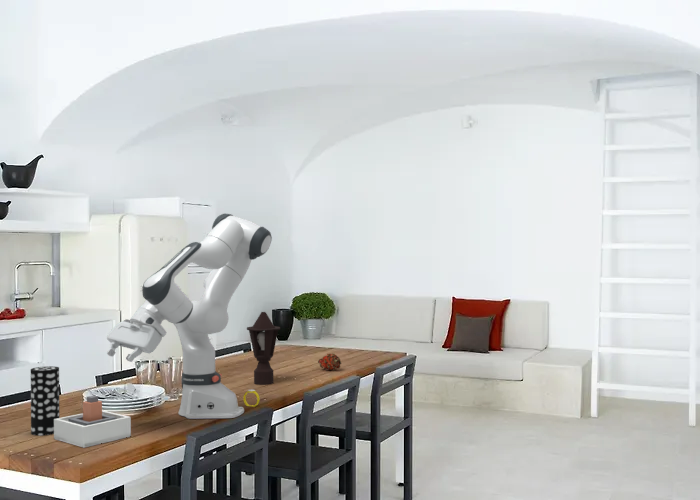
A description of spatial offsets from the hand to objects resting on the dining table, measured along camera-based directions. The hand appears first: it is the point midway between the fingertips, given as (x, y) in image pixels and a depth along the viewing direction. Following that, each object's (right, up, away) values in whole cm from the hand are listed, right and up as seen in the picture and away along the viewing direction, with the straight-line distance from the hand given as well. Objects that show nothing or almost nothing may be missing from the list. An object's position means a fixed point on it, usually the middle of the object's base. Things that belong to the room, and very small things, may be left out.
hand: (118, 357), depth 239 cm
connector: (-5, -22, -8) cm, 24 cm away
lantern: (+37, -22, +80) cm, 91 cm away
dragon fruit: (+63, -22, +112) cm, 130 cm away
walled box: (-5, -23, -8) cm, 25 cm away
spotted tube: (-23, -23, -1) cm, 33 cm away
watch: (+37, -23, +36) cm, 56 cm away
